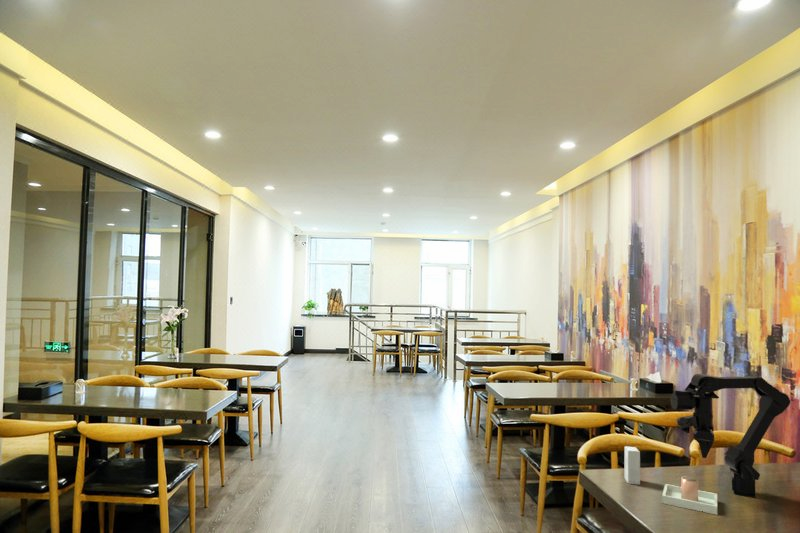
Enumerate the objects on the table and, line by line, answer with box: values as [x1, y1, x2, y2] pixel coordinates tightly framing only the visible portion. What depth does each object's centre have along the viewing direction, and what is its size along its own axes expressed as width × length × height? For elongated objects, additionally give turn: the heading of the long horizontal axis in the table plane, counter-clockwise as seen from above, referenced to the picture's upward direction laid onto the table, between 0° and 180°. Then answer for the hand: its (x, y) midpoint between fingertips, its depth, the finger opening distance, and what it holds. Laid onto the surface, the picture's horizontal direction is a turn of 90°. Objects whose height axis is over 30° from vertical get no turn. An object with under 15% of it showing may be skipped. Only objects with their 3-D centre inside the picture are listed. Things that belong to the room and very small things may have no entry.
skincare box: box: [623, 445, 641, 486], centre depth 187 cm, size 6×4×12 cm
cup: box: [680, 475, 699, 502], centre depth 169 cm, size 5×5×7 cm
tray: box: [661, 483, 718, 515], centre depth 169 cm, size 16×13×2 cm
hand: (704, 454), depth 179 cm, fingers open, 9 cm apart
